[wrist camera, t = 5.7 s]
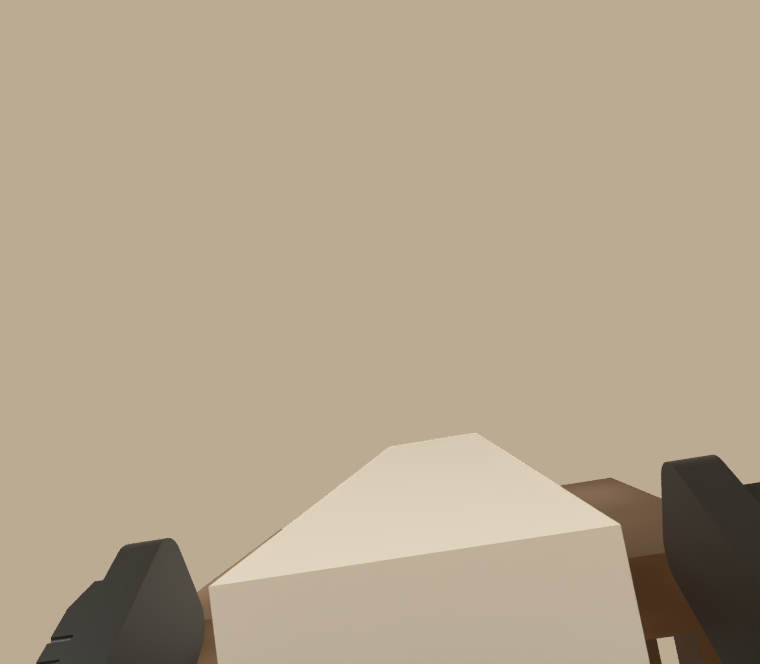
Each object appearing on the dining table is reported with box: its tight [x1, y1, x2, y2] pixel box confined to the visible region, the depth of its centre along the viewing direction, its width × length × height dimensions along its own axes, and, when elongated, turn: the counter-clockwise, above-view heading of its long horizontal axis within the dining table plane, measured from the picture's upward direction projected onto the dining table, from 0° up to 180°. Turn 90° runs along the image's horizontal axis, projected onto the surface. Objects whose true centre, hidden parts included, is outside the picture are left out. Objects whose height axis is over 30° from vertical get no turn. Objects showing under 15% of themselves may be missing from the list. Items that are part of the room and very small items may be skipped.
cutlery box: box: [208, 432, 650, 664], centre depth 19 cm, size 4×26×3 cm, turn 175°
